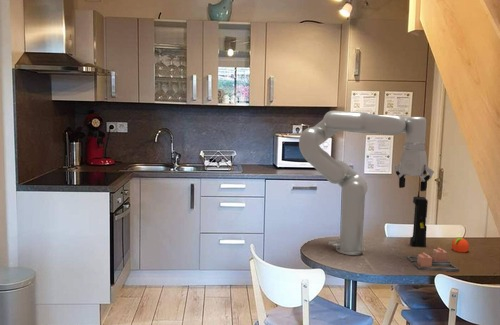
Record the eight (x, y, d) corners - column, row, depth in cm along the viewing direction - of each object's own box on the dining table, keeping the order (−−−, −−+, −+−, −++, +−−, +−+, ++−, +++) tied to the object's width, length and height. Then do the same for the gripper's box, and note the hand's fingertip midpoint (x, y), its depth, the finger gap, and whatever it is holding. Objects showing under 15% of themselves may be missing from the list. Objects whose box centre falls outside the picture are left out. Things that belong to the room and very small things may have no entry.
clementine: (461, 257, 192) (463, 241, 192) (446, 253, 198) (447, 237, 197) (471, 254, 197) (472, 238, 196) (456, 250, 203) (457, 234, 202)
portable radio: (426, 250, 201) (431, 194, 198) (412, 248, 202) (416, 193, 199) (423, 245, 209) (427, 191, 206) (409, 244, 210) (413, 191, 207)
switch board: (408, 274, 169) (409, 268, 169) (394, 259, 186) (394, 254, 186) (472, 276, 169) (473, 270, 169) (452, 261, 186) (452, 256, 186)
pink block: (420, 268, 172) (421, 255, 171) (416, 265, 176) (417, 252, 175) (431, 269, 172) (432, 255, 171) (427, 265, 176) (428, 252, 175)
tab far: (436, 263, 179) (437, 250, 179) (432, 259, 183) (433, 247, 183) (446, 263, 179) (447, 250, 179) (442, 260, 183) (443, 247, 183)
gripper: (390, 146, 187) (388, 187, 189) (429, 149, 174) (426, 193, 175) (401, 145, 192) (399, 185, 194) (439, 148, 178) (436, 191, 180)
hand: (412, 189), depth 184 cm, fingers open, 9 cm apart
